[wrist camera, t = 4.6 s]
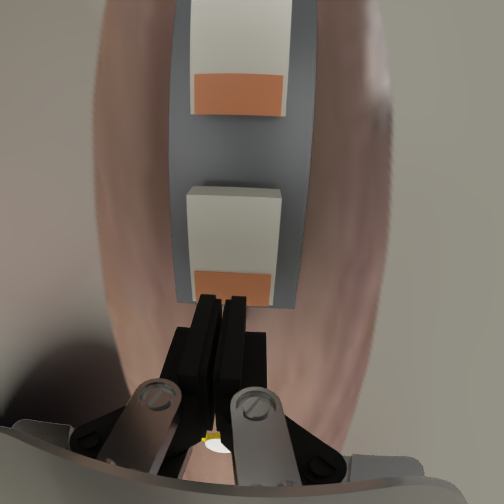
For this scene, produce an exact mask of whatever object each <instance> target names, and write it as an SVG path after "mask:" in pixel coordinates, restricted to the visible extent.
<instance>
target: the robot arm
mask: <svg viewBox="0 0 504 504" xmlns="http://www.w3.org/2000/svg"><path fill="white" fill-rule="evenodd" d="M246 302H247V296H232V297H231V299H226V301H225V306H224V312H223V317H222V300H221V299H216V295H213V294H201V295H200V298H199V301H198V304H197V307H196V311H195V314H194V317H193V320H192V324H191V327H190V328H187V327H177V329H176V331H175V334H174V337H173V340H172V343H171V346H170V348H169V351H168V354H167V357H166V360H165V363H164V366H163V369H162V372H161V375H160V378H156V379H150V380H147V381H145V382H143V383H142V384H140V385H139V386H138V388H137V389H136V390H135V392H134V393H133V395H132V397H131V398H130V400H129V402H128V404H127V405H126V406H123V407H121V408H119V409H117V410H115V411H113V412H111V413H108V414H106V415H104V416H101V417H99V418H97V419H95V420H92V421H90V422H88V423H85V424H83V425H81V426H79V427H77V428H72V427H71V425H63V424H55V423H47V422H40V421H34V420H28V419H27V420H20V421H18V422H16V423H15V424H14V425H13V427H12V429H10V428H6V427H2V426H0V504H467V501H466V499H465V497H464V496H463V494H462V493H461V491H460V490H459V489H458V488H457V487H456V486H455V485H454V484H452V483H450V482H448V481H445V480H442V479H438V478H432V477H426V476H424V469H423V466H422V464H421V463H420V462H419V461H418V460H416V459H415V458H412V457H407V456H406V457H405V456H374V455H359V454H352V456H342V455H341V454H340V453H338V452H337V451H336V450H334V449H333V448H331V447H330V446H328V445H327V444H325V443H324V442H322V441H321V440H319V439H318V438H316V437H315V436H314V435H312V434H311V433H309V432H308V431H306V430H305V429H304V428H302V427H301V426H299V425H298V424H297V423H295V422H294V421H292V420H291V419H290V418H288V417H287V416H286V415H284V412H283V408H282V404H281V401H280V399H279V397H278V396H277V395H276V394H275V393H274V392H272V391H270V390H268V389H267V359H266V332H245V329H246ZM214 416H215V417H216V427H217V431H220V439H221V443H222V444H223V445H224V446H225V447H226V448H227V449H228V450H229V451H230V452H231V456H232V465H233V474H234V482H235V485H224V484H213V483H204V482H195V481H188V480H182V478H183V475H184V472H185V470H186V467H187V464H188V462H189V459H190V456H191V453H192V450H193V446H194V445H195V444H197V443H199V442H200V441H201V440H202V438H206V432H207V430H209V431H212V430H213V423H214Z"/></svg>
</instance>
